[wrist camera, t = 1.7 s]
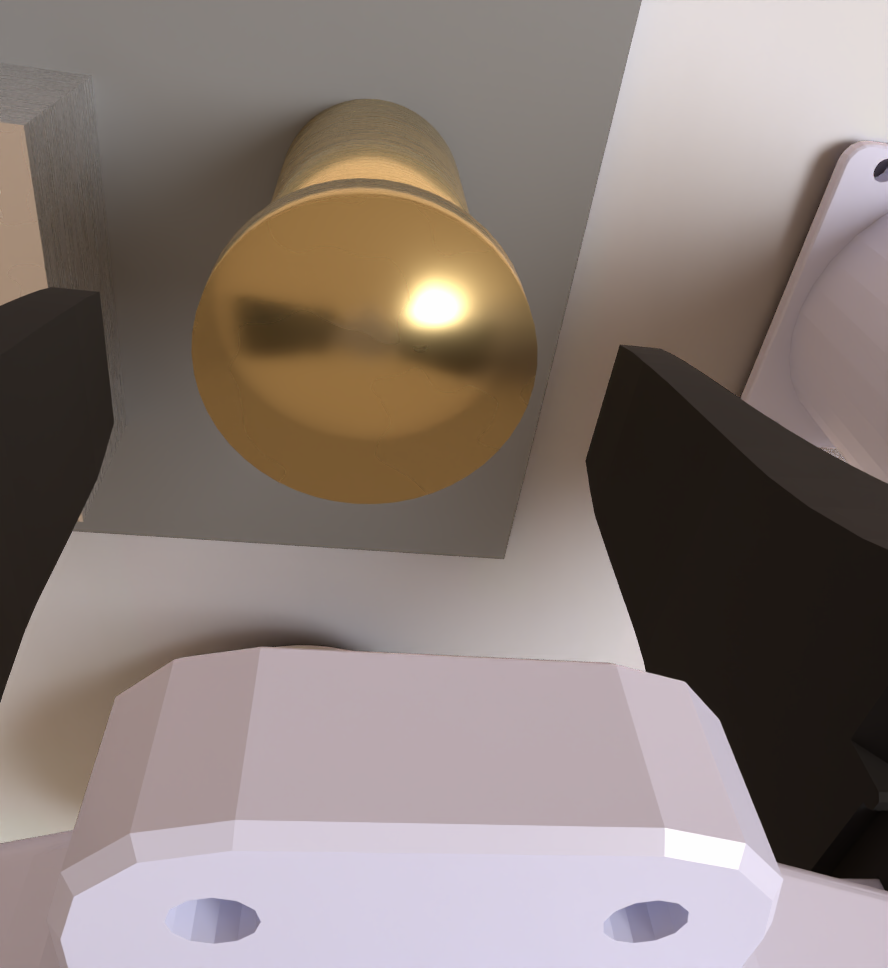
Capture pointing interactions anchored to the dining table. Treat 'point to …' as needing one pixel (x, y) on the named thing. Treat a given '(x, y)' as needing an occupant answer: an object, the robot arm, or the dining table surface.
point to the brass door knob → (365, 318)
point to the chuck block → (56, 204)
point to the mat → (250, 187)
